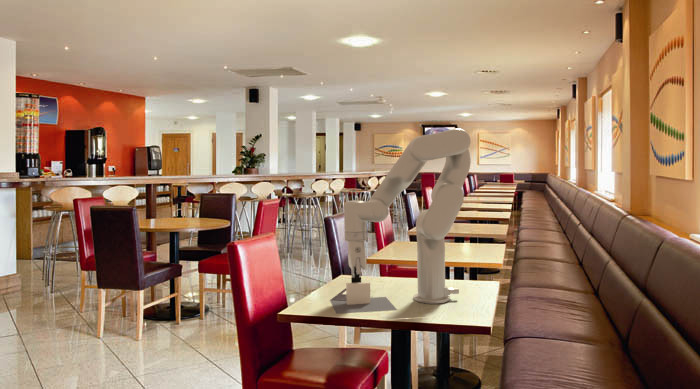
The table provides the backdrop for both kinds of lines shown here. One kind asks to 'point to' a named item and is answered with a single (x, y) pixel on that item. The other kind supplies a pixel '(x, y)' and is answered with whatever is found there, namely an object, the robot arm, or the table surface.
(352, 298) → the tile
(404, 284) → the table surface
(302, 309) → the table surface
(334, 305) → the mat
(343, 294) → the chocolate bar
